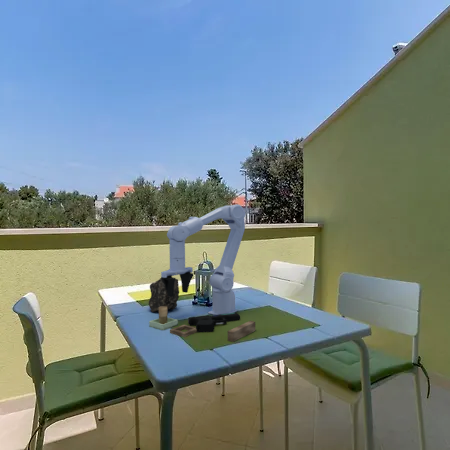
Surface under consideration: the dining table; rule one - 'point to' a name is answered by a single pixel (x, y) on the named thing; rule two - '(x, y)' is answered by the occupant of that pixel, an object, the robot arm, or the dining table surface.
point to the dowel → (163, 315)
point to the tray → (165, 326)
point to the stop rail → (241, 331)
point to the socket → (184, 327)
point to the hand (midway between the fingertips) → (177, 294)
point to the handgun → (211, 321)
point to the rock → (162, 296)
